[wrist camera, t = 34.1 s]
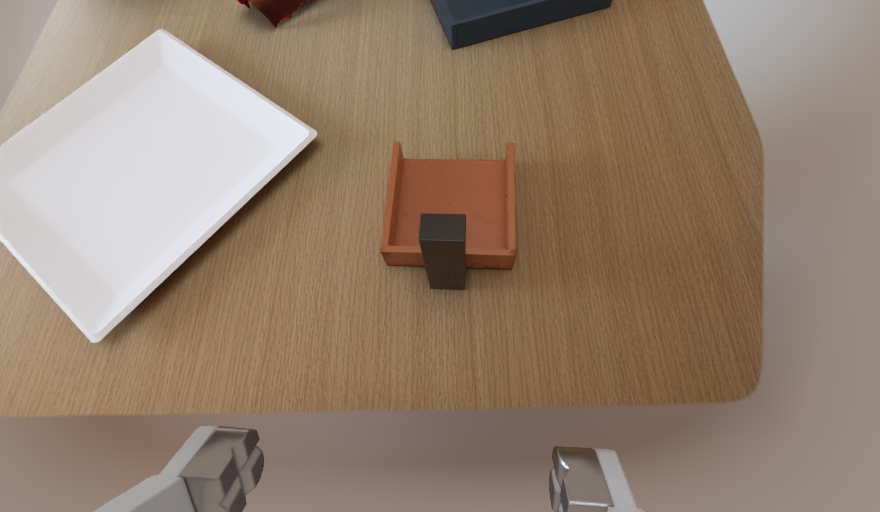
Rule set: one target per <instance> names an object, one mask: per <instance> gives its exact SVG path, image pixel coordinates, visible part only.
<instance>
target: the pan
mask: <svg viewBox="0 0 880 512" xmlns="http://www.w3.org/2000/svg"><path fill="white" fill-rule="evenodd" d="M381 253H382V256H383V258H384V260H385V262H386V264H387V265H389V266H420V267H425V268H426V272H427V276H428V280H429V284H430V288H431V289H458V290H465V281H466V268H482V269H512V267H513V264H514V261H515V258H516V212H515V152H514V143H508V145H507V151H506V158H505V160H439V159H404V158H403V153H402V149H401V145H400V142H394V144H393V152H392V160H391V168H390V177H389V185H388V193H387V201H386V210H385V218H384V226H383V234H382V243H381Z"/></svg>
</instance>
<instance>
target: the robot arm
mask: <svg viewBox="0 0 880 512" xmlns="http://www.w3.org/2000/svg"><path fill="white" fill-rule="evenodd" d="M258 441H259V436H258V432H257V430H254V429H245V428H234V427H233V428H232V427H222V426H207V425H202V426H201V427H199V428H197V429H196V430H195V431H194V432H193V434H192V435H191V436H190V437H189V439H188V440H187V441H186V442H185V443H184V445H183V446H182V447H181V448H180V449H179V451H178V452H177V453H176V455H175V456H174V457H173V458H172V459H171V460H170V462H169V463H168V464H167V465H166V467H165V468H164V469H163V470H162V471H161V473H160V474H159V475H152V476H151V477H149V478H147V479H146V480H144V481H142V482H141V483H139V484H137V485H136V486H134V487H132V488H131V489H129V490H127V491H126V492H124V493H122V494H121V495H119V496H117V497H116V498H114V499H112V500H111V501H109V502H107V503H106V504H104V505H102V506H101V507H99V508H97V509H96V510H94V511H92V512H242V511H243V509H244V507H245V506H246V497H245V495H247V494H248V493H249V492H251V491H252V490H253V489H255V487H256V485H257V484H258V482H259V480H260V478H261V474H262V471H263V467H264V456H263V452H262V450H261V449H260V448H259V447H257V446H256V444H257V442H258ZM552 459H553V464H554V467H552V468H551V469H550V478H549V490H550V499H551V505H552V509H553V511H555V512H647V511H646V510H645V509H638V507H637V505H636V502H635V499H634V497H633V494H632V492H631V489H630V487H629V484H628V481H627V479H626V477H625V474H624V471H623V469H622V466H621V464H620V461H619V459H618V456H617V453H616V452H615V451H614V450H613V449H596V448H594V449H592V448H579V447H557V446H556V447H554V449H553V454H552Z"/></svg>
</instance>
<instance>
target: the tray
mask: <svg viewBox="0 0 880 512" xmlns="http://www.w3.org/2000/svg"><path fill="white" fill-rule="evenodd" d="M430 1H431V3H432V5H433V7H434V10H435V12H436V14H437V16H438V19H439V21H440V23H441V25H442V28H443V30H444V32H445V34H446V37H447V39H448V41H449V43H450V46H451V48H452V49H456V48H460V47H463V46H467V45H471V44H474V43H478V42H482V41H485V40H489V39H493V38H496V37H500V36H504V35H508V34H511V33H515V32H519V31H522V30H526V29H530V28H533V27H537V26H541V25H544V24H548V23H552V22H555V21H559V20H563V19H566V18H570V17H574V16H578V15H581V14H585V13H589V12H592V11H596V10H600V9H603V8H607V7H610V6H611V2H612V0H430Z"/></svg>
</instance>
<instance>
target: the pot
mask: <svg viewBox="0 0 880 512" xmlns="http://www.w3.org/2000/svg"><path fill="white" fill-rule="evenodd" d="M237 1H238V2H239V3H241V4H244V5H246V6H247V7H248V8H249V9H250V5H249V2H250V3H252V4H253V5H254V6H255V7H256V8H258V9H259V10H260V11H261V12H262V13H263V14H264V15H265V16H266V17H267V18H268V19H269V20H270V21H271V23H272V24H273V25H274V27H277V25H278V23H280V21H281V20H283V19H284V18H290V17H291V14H292V13H293V12H295V11H296V10H297V9H298V8H299V7H300V6H301V3H306V1H308V0H237Z"/></svg>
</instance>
